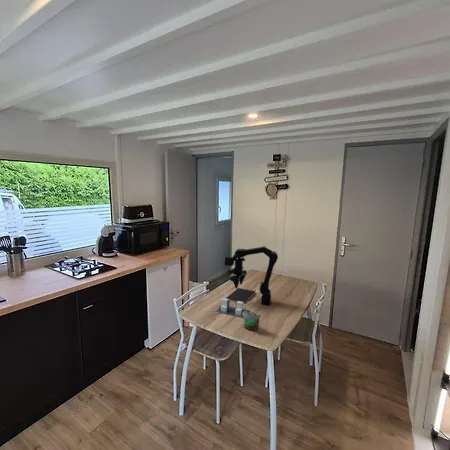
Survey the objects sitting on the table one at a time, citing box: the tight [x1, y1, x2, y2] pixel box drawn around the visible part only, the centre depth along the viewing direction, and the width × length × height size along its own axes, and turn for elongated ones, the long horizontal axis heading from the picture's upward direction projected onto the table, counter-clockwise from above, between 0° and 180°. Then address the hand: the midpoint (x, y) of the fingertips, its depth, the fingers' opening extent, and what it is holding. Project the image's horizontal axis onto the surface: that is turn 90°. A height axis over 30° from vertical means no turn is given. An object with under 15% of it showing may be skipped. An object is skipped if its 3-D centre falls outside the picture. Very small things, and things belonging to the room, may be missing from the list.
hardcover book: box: [225, 287, 256, 304], centre depth 202 cm, size 16×23×2 cm
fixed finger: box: [220, 297, 231, 312], centre depth 178 cm, size 5×7×8 cm
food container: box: [242, 307, 261, 332], centre depth 155 cm, size 12×6×10 cm, turn 44°
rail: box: [214, 304, 252, 319], centre depth 176 cm, size 22×12×3 cm, turn 65°
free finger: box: [235, 301, 245, 315], centre depth 174 cm, size 5×7×8 cm
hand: (238, 286), depth 191 cm, fingers open, 9 cm apart
